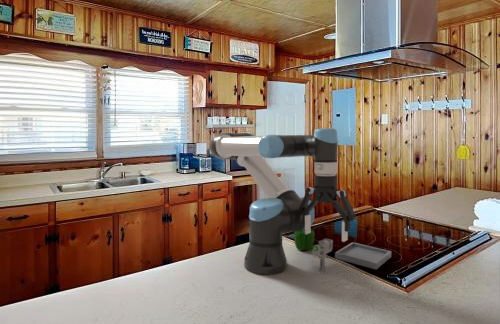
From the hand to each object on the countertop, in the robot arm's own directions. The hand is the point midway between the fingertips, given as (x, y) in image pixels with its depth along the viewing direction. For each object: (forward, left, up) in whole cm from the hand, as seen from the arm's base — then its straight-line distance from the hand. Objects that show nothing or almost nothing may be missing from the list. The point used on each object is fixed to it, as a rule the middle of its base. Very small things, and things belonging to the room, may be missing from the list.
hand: (325, 237), depth 112 cm
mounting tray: (+5, +21, -12) cm, 25 cm away
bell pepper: (-17, +14, -12) cm, 25 cm away
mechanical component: (-1, 0, -12) cm, 12 cm away
